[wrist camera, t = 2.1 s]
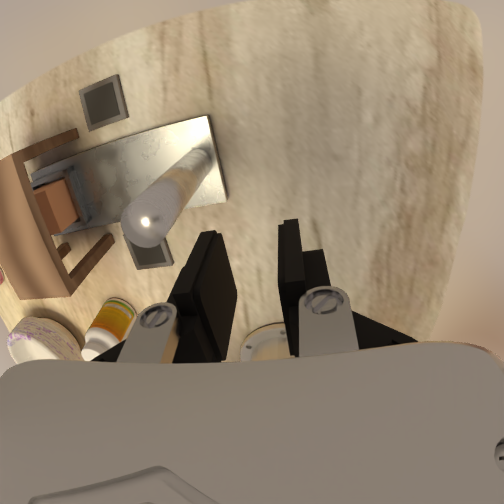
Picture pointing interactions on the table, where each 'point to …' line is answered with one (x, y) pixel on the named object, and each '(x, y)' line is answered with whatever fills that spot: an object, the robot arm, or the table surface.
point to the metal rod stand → (142, 180)
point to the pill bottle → (1, 277)
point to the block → (56, 205)
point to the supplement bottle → (108, 328)
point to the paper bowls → (42, 341)
